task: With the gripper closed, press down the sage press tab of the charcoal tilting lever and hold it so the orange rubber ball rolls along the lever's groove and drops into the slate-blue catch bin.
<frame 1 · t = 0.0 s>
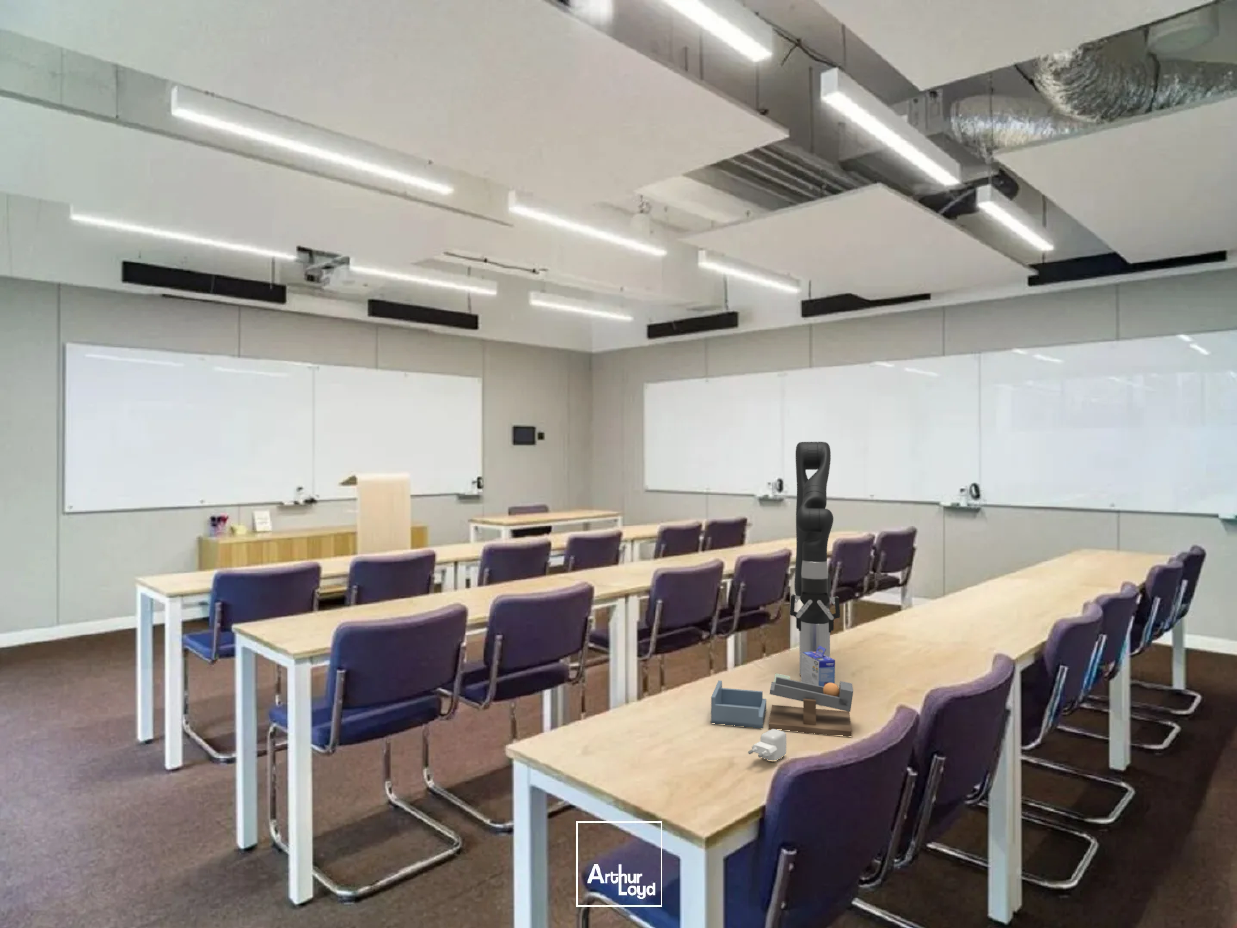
hand: (814, 631, 212), 17 cm above the table, tool pointing down, fingers open, 8 cm apart
ball: (831, 690, 184), point 9 cm above the table, tilted 15°, touching lever
ink cartridge box: (817, 698, 205), on the table
power adapter: (767, 762, 163), on the table
catch bin: (739, 716, 191), on the table
lever: (810, 685, 189), point 8 cm above the table, hinge at -8.0°, touching ball
lever stand: (809, 723, 186), on the table
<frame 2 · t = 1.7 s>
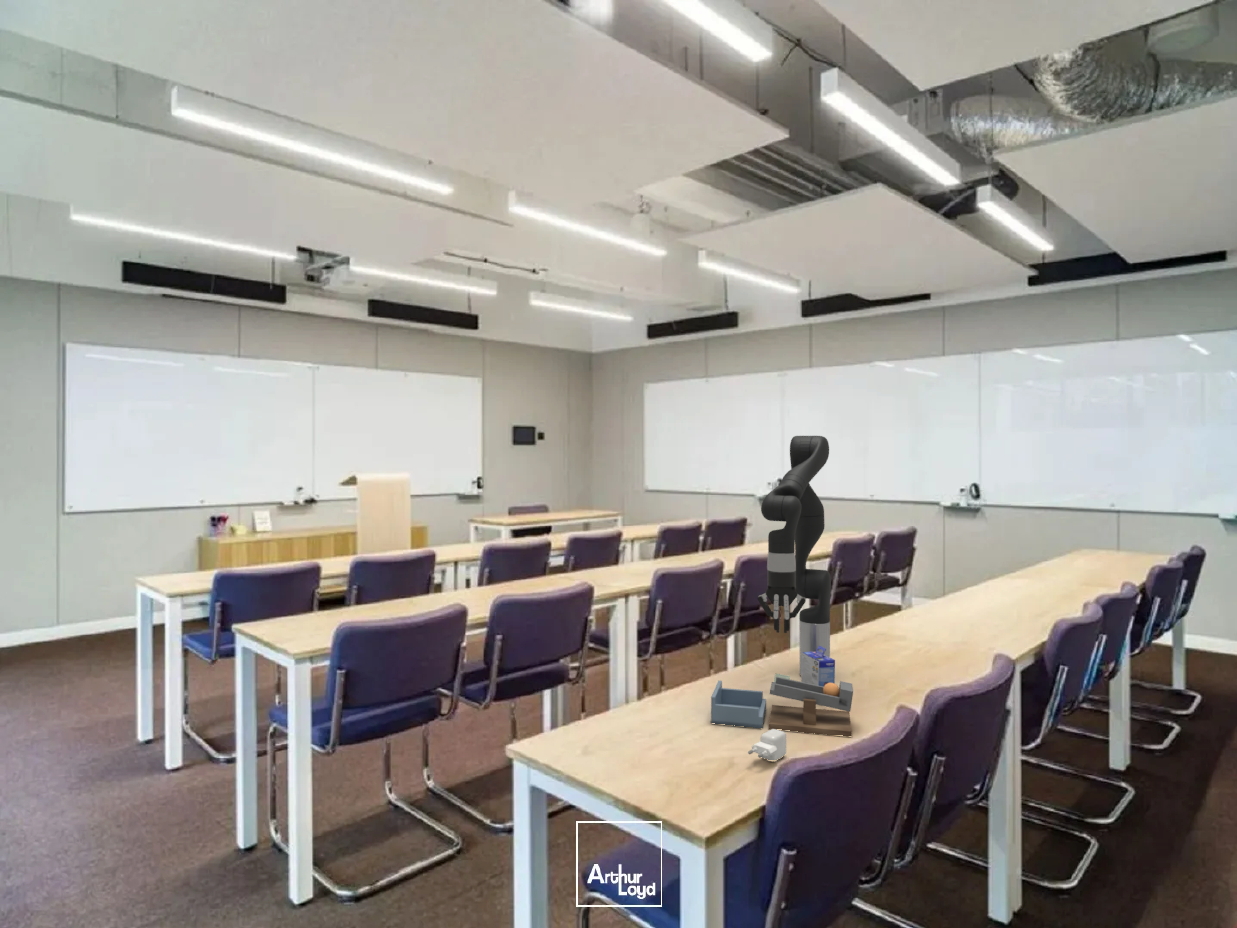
hand: (781, 631, 196), 21 cm above the table, tool pointing down, fingers closed
nothing on the table moved.
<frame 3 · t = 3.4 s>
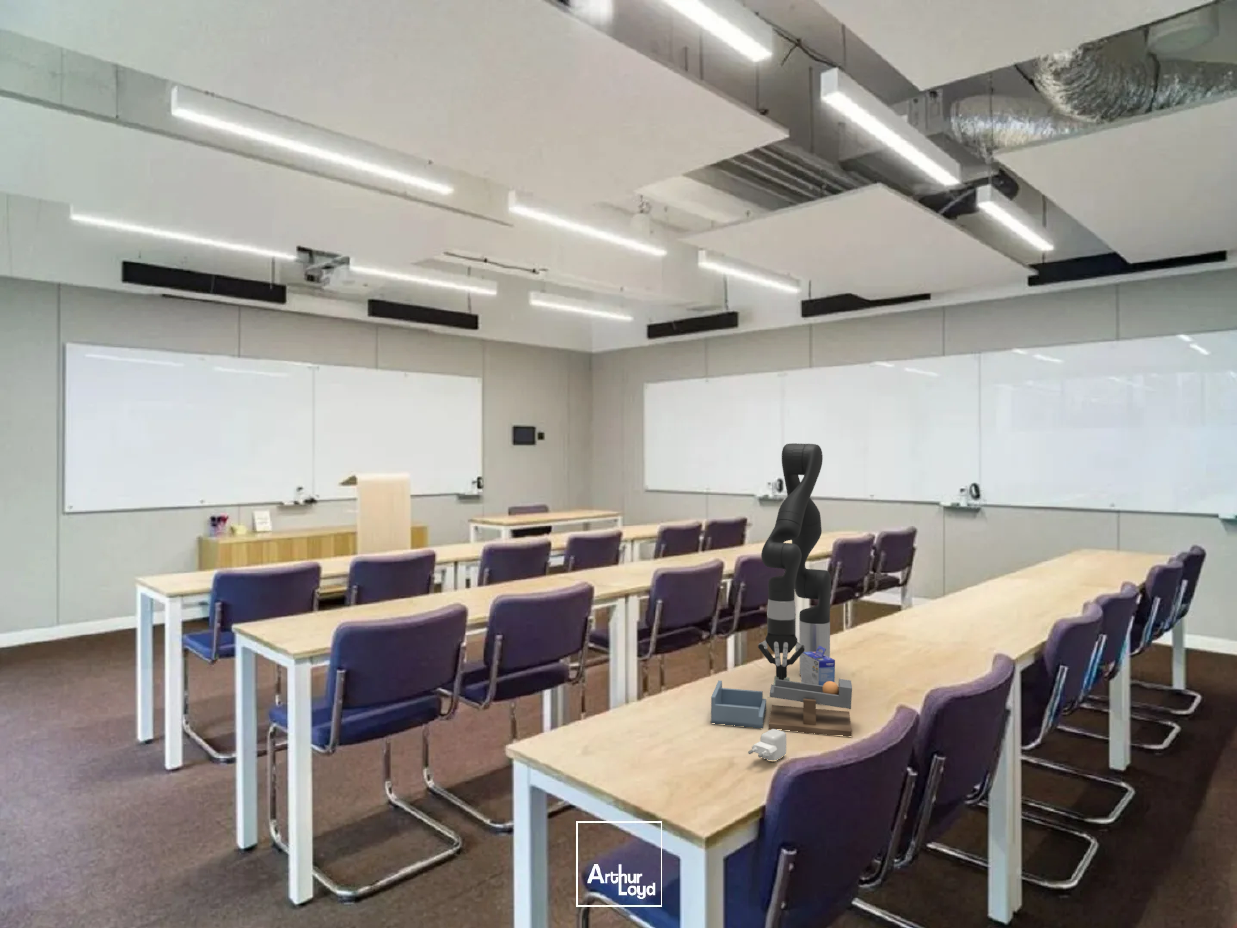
hand: (781, 678, 196), 8 cm above the table, tool pointing down, fingers closed
lever: (810, 685, 189), point 8 cm above the table, hinge at -3.7°, touching ball, gripper
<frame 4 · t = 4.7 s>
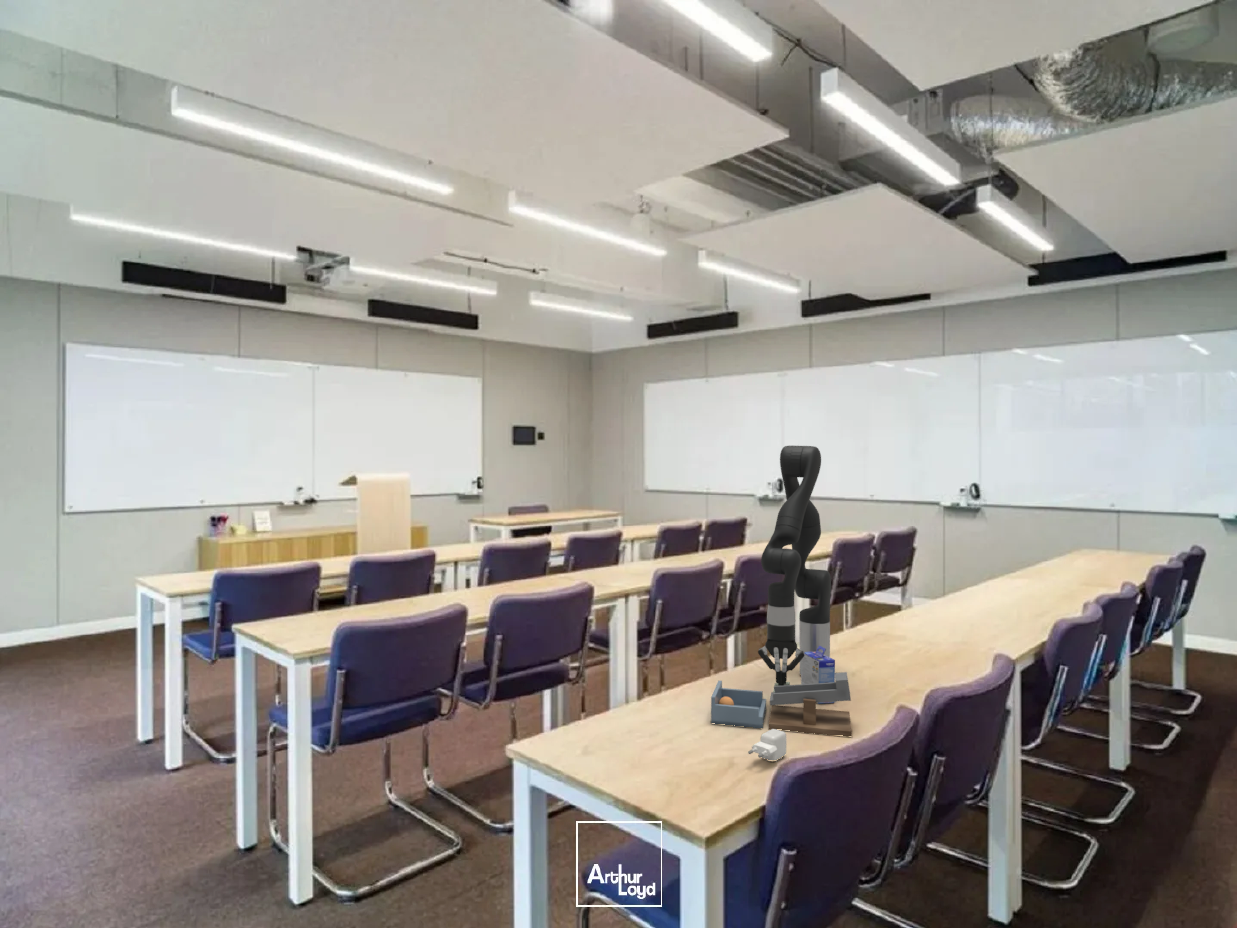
hand: (781, 684, 196), 7 cm above the table, tool pointing down, fingers closed
ball: (726, 704, 191), point 3 cm above the table, tilted 51°, touching catch bin
lever: (809, 685, 189), point 8 cm above the table, hinge at 8.4°, touching gripper
everything else where it was.
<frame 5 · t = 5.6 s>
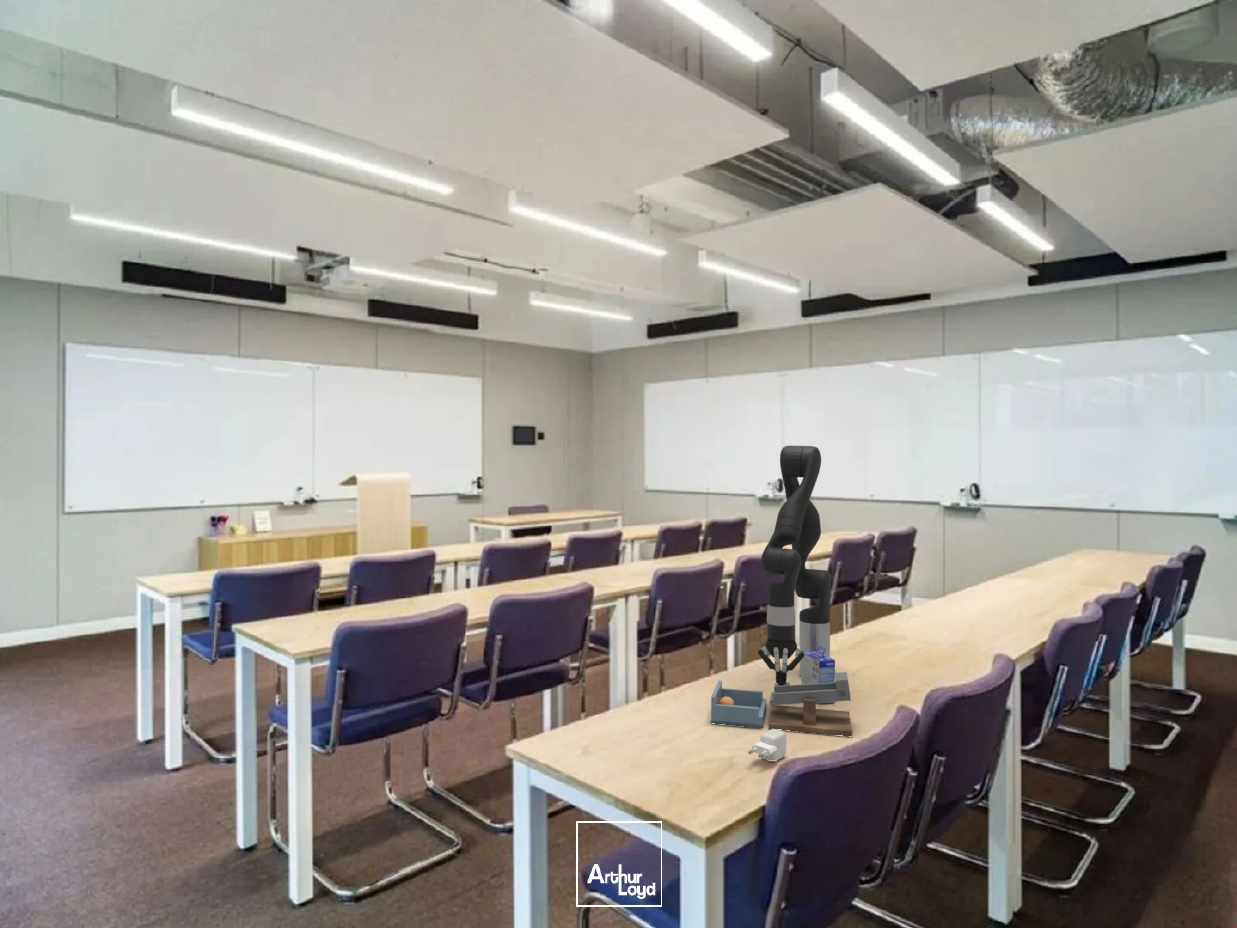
hand: (781, 684, 196), 7 cm above the table, tool pointing down, fingers closed
nothing on the table moved.
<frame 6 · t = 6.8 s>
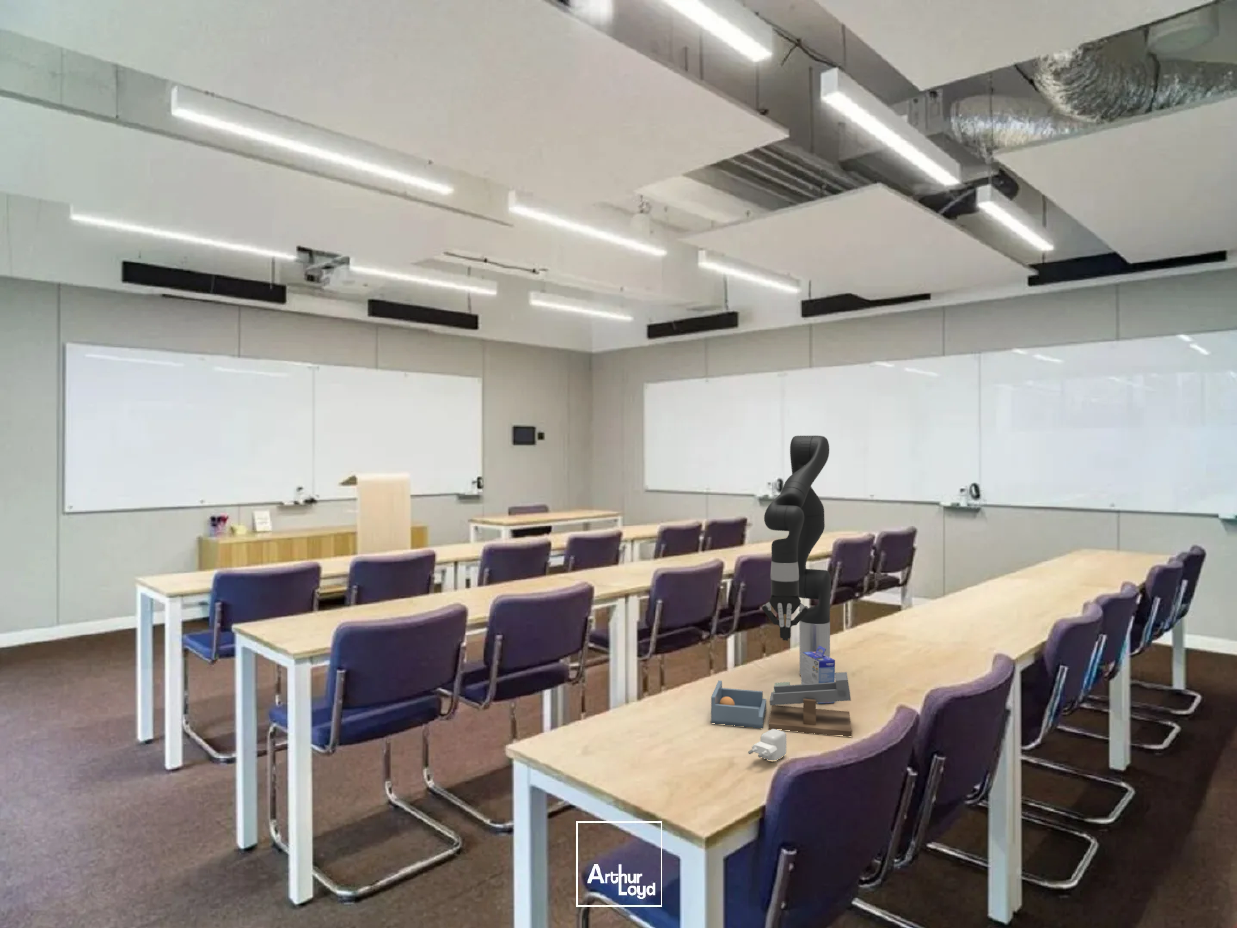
hand: (785, 639, 199), 18 cm above the table, tool pointing down, fingers closed
lever: (809, 685, 189), point 8 cm above the table, hinge at 8.4°
everything else where it was.
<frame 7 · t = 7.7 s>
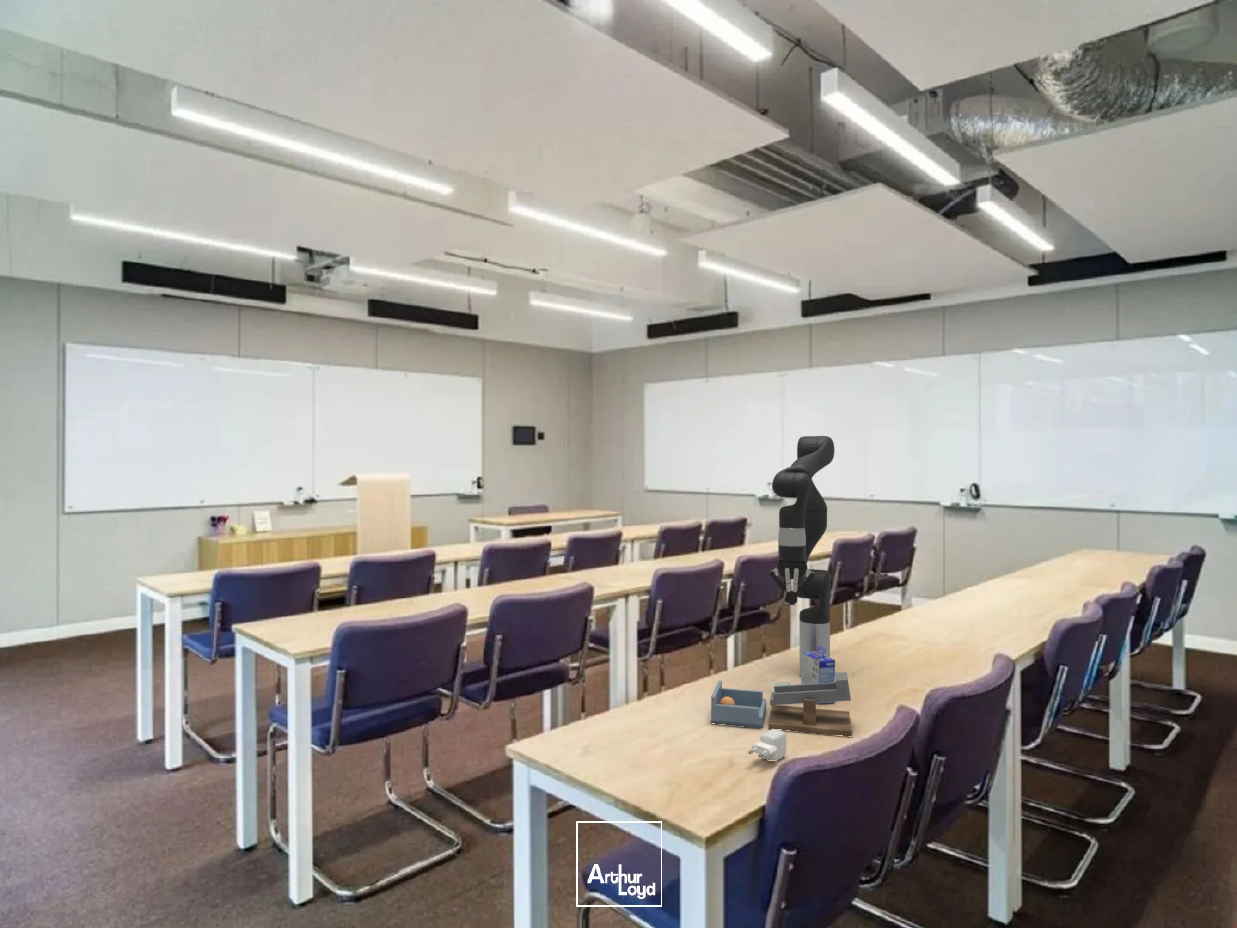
hand: (792, 604, 203), 27 cm above the table, tool pointing down, fingers closed
nothing on the table moved.
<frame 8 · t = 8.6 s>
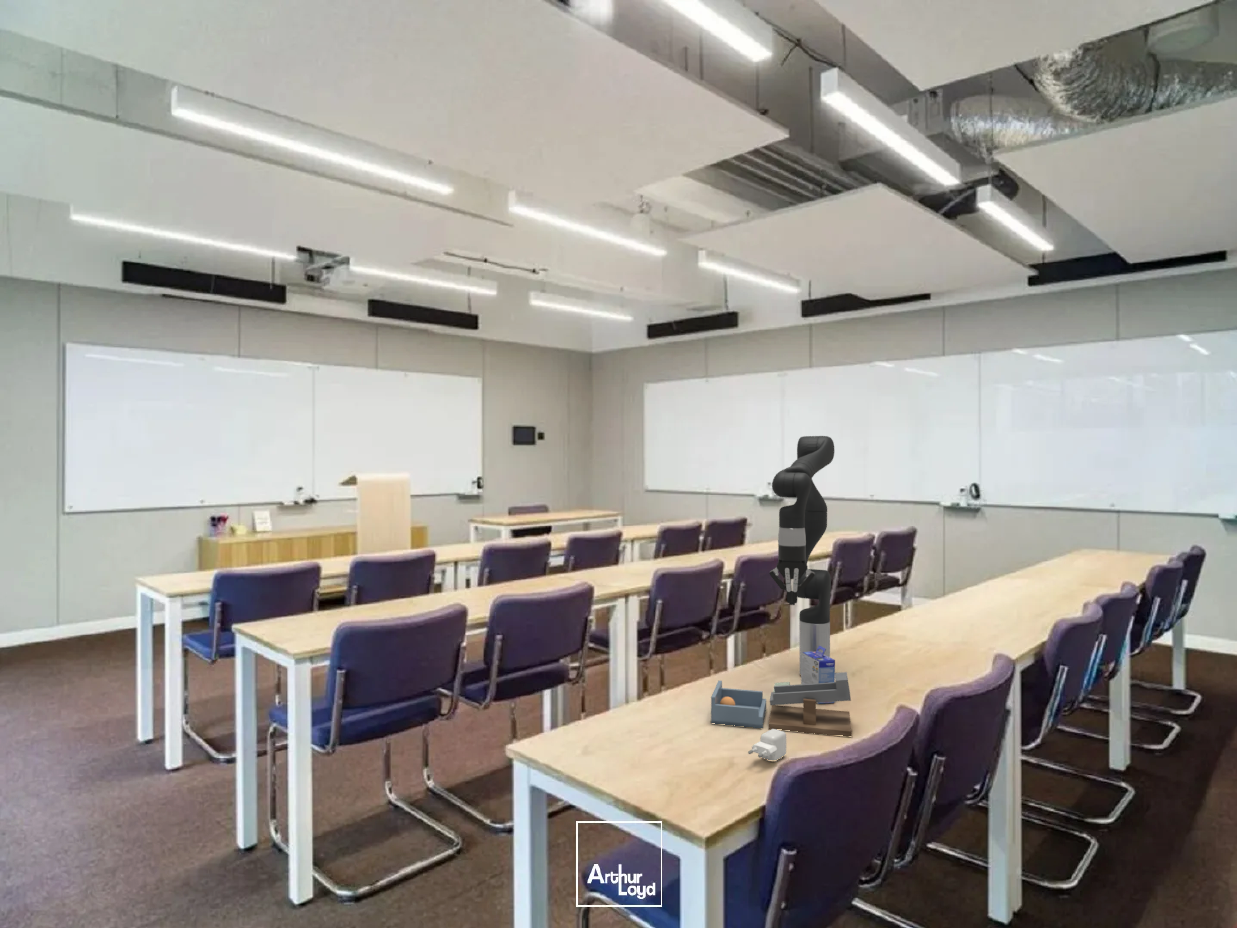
hand: (792, 604, 203), 27 cm above the table, tool pointing down, fingers closed
nothing on the table moved.
at the end: ball inside the target area (3.1 cm from its centre), point 3.0 cm above the table; ball touching catch bin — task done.
